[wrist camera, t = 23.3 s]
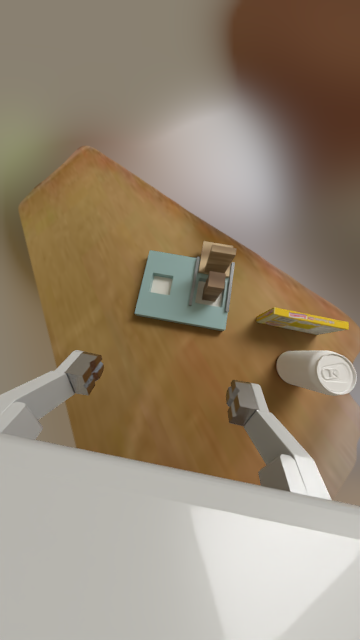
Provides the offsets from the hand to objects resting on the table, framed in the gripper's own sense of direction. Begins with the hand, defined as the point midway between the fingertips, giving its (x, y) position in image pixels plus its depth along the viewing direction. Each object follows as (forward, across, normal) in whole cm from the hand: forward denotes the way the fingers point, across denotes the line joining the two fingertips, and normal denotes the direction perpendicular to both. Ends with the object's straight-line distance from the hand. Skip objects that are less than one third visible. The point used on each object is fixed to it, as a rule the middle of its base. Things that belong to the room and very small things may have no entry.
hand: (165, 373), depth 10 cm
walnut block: (+34, -6, +9) cm, 36 cm away
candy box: (+32, -28, +13) cm, 44 cm away
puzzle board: (+35, 0, +10) cm, 36 cm away
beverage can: (+24, -29, +20) cm, 43 cm away
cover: (+39, -6, +1) cm, 40 cm away
